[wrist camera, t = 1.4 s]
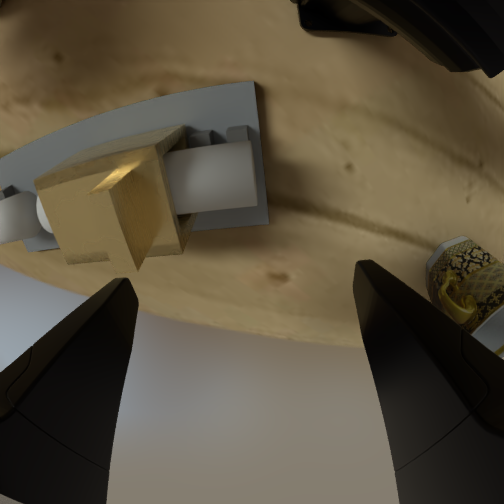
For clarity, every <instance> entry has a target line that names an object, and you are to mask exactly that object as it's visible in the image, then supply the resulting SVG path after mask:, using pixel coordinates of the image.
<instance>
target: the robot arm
mask: <svg viewBox="0 0 504 504" xmlns="http://www.w3.org/2000/svg"><path fill="white" fill-rule="evenodd" d="M290 1H291V2H292V3H294V4H297V8H298V15H299V22H300V26H301V28H302V29H304V30H306V31H334V32H350V33H361V34H371V35H379V36H386V37H394V36H396V35H397V33H398V34H400V35H401V36H402V37H403V38H405V39H406V40H407V41H408V42H410V43H411V44H412V45H413V46H415V47H416V48H417V49H418V50H419V51H420V52H422V53H423V54H424V55H425V56H426V57H427V58H428V59H430V60H431V61H433V62H435V63H437V64H439V65H441V66H445V67H446V68H447V69H448V70H449V71H450V72H470V71H474V70H479V69H482V70H483V71H484V73H485V74H486V75H487V76H488V77H489V78H493V77H495V76H496V75H497V74H499V73H500V72H502V71H503V70H504V0H290ZM305 21H310V22H311V23H312V26H310V27H309V26H306V25H305ZM388 27H389V28H391V30H392V33H390V32H389V31H388ZM353 293H354V298H355V303H356V308H357V313H358V318H359V324H360V329H361V334H362V339H363V343H364V347H365V350H366V353H367V357H368V360H369V364H370V368H371V371H372V375H373V378H374V382H375V386H376V390H377V393H378V398H379V402H380V406H381V410H382V414H383V418H384V422H385V427H386V431H387V436H388V440H389V445H390V450H391V455H392V460H393V466H394V470H395V477H396V484H397V490H398V496H399V503H400V504H504V360H503V359H502V358H501V357H499V356H498V355H497V354H495V353H494V352H493V351H491V350H490V349H488V348H487V347H486V346H485V345H483V344H482V343H481V342H480V341H478V340H477V339H476V338H475V337H473V336H472V335H471V334H470V333H468V332H467V331H466V330H465V329H461V326H460V325H458V324H457V323H456V322H455V321H453V320H452V319H451V318H450V317H448V316H447V315H446V314H445V313H443V312H442V311H441V310H439V309H438V308H437V307H436V306H434V305H433V304H432V303H430V302H429V301H428V300H426V299H425V298H424V297H422V296H421V295H420V294H418V293H417V292H416V291H414V290H413V289H412V288H410V287H409V286H408V285H406V284H405V283H404V282H402V281H401V280H399V279H398V278H397V277H395V276H394V275H392V274H391V273H390V272H388V271H387V270H385V269H384V268H383V267H381V266H380V265H378V264H377V263H376V262H374V261H373V260H370V259H369V260H359V261H357V262H356V265H355V273H354V280H353ZM138 306H139V302H138V298H137V295H136V293H135V291H134V289H133V286H132V284H131V282H130V280H129V279H128V278H115V279H113V280H112V281H111V282H109V283H108V284H107V285H105V286H104V287H103V288H102V289H100V290H99V291H98V292H96V293H95V294H94V295H93V296H91V297H90V298H89V299H88V300H86V301H85V302H84V303H82V304H81V305H80V306H79V307H78V308H76V309H75V310H74V311H73V312H71V313H70V314H69V315H68V316H66V317H65V318H64V319H63V320H62V321H60V322H59V323H58V324H57V325H56V326H54V327H53V328H52V329H51V330H50V331H48V332H47V333H46V334H45V335H44V336H43V337H41V338H40V339H39V340H38V341H37V342H36V343H34V344H33V346H31V347H30V348H29V349H27V350H26V351H25V352H24V353H23V354H22V355H21V356H19V357H18V358H17V359H16V360H15V361H14V362H12V363H11V364H10V365H9V366H8V367H6V368H5V369H4V370H3V371H2V372H0V504H106V501H107V490H108V480H109V470H110V462H111V454H112V447H113V440H114V434H115V428H116V423H117V417H118V412H119V406H120V401H121V396H122V391H123V386H124V381H125V377H126V373H127V368H128V364H129V359H130V355H131V351H132V345H133V339H134V331H135V325H136V318H137V312H138Z"/></svg>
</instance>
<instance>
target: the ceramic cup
mask: <svg viewBox="0 0 504 504" xmlns="http://www.w3.org/2000/svg"><path fill="white" fill-rule="evenodd" d="M426 287H427V290H428V294H429V296H430V299H431V302H432V304H433V305H434V306H436V307H437V308H438V309H439V310H441V311H442V312H443V313H445V314H446V315H447V316H448V317H450V318H451V319H452V320H453V321H455V322H456V323H457V324H458V325H460V326H461V329H465V330H466V331H467V332H468V333H470V334H471V335H472V336H473V337H475V338H476V339H477V340H478V341H480V342H481V343H482V344H483V345H485V346H486V347H487V348H488V349H490V350H491V351H493V352H494V353H495V354H497V355H498V356H499V357H501V358H502V357H504V264H503V263H501V262H500V261H498V260H497V259H496V258H494V257H493V256H492V255H490V254H489V253H488V252H486V251H485V250H484V249H482V248H481V247H479V246H478V245H477V244H475V243H474V242H473V241H472V240H470V239H468V238H467V237H465V236H460V237H457V238H455V239H452V240H449V241H447V242H444V243H442V244H440V246H439V247H438V248H437V250H436V251H435V252H434V254H433V255H432V256H431V258H430V259H429V260H428V262H427V263H426Z"/></svg>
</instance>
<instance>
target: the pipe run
mask: <svg viewBox="0 0 504 504" xmlns="http://www.w3.org/2000/svg"><path fill="white" fill-rule="evenodd" d="M181 124H185V127H186V132H187V138H188V143H189V148H190V149H185V150H179V151H173V152H168V153H165V154H164V155H163V160H164V164H165V169H166V173H167V177H168V182H169V186H170V190H171V194H172V198H173V202H174V206H175V210H176V214H177V215H178V214H187V213H195V212H198V215H197V217H196V220H195V223H194V225H193V228H192V230H191V232H192V231H202V230H212V229H222V228H232V227H243V226H254V225H265V224H269V216H268V205H267V195H266V186H265V176H264V166H263V157H262V148H261V139H260V130H259V121H258V113H257V104H256V96H255V87H254V81H248V82H239V83H231V84H224V85H217V86H211V87H205V88H199V89H194V90H189V91H184V92H179V93H174V94H170V95H166V96H161V97H157V98H153V99H149V100H145V101H142V102H138V103H134V104H131V105H128V106H124V107H121V108H118V109H114V110H111V111H108V112H105V113H102V114H99V115H96V116H94V117H91V118H88V119H85V120H83V121H80V122H77V123H75V124H72V125H70V126H67V127H65V128H62V129H60V130H58V131H55V132H53V133H51V134H48V135H46V136H44V137H42V138H40V139H37V140H35V141H33V142H31V143H29V144H27V145H25V146H23V147H21V148H19V149H17V150H15V151H13V152H11V153H10V154H8V155H6V156H4V157H2V158H1V159H0V186H1V189H2V190H1V191H0V244H4V243H9V242H14V241H18V240H23V242H24V244H25V246H26V249H27V251H28V252H33V251H40V250H47V249H54V248H60V247H59V245H58V243H57V240H56V238H55V236H54V234H53V231H52V229H51V227H50V224H49V222H48V219H47V217H46V215H45V212H44V209H43V207H42V204H41V202H40V199H39V196H38V193H37V191H36V188H35V185H34V182H33V180H34V179H36V178H37V177H39V176H40V175H42V174H43V173H45V172H46V171H48V170H50V169H51V168H53V167H54V166H56V165H57V164H59V163H61V162H62V161H64V160H66V159H67V158H69V157H71V156H72V155H74V154H76V153H78V152H79V151H81V150H83V149H87V148H90V147H93V146H96V145H99V144H103V143H106V142H110V141H113V140H117V139H120V138H124V137H128V136H132V135H136V134H140V133H144V132H148V131H153V130H157V129H162V128H166V127H171V126H176V125H181Z"/></svg>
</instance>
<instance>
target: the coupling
mask: <svg viewBox="0 0 504 504" xmlns="http://www.w3.org/2000/svg"><path fill="white" fill-rule="evenodd" d="M185 149H190V148H189V143H188V138H187V132H186V127H185V124H181V125H176V126H171V127H166V128H162V129H157V130H153V131H148V132H144V133H140V134H136V135H132V136H128V137H124V138H120V139H117V140H113V141H110V142H106V143H103V144H99V145H96V146H93V147H90V148H87V149H83V150H81V151H79V152H78V153H76V154H74V155H72V156H71V157H69V158H67V159H66V160H64V161H62V162H61V163H59V164H57V165H56V166H54V167H53V168H51V169H50V170H48V171H46V172H45V173H43V174H42V175H40V176H39V177H37V178H36V179H34V180H33V182H34V185H35V188H36V191H37V193H38V196H39V199H40V202H41V204H42V207H43V209H44V212H45V215H46V217H47V219H48V222H49V224H50V227H51V229H52V231H53V234H54V236H55V238H56V240H57V243H58V245H59V247H60V249H61V251H62V253H63V256H64V258H65V260H66V262H67V264H78V263H89V262H100V261H111V263H112V265H113V268H114V270H115V272H116V273H131V272H138V271H139V269H140V267H141V265H142V263H143V261H144V259H145V257H156V256H167V255H179V254H183V252H184V249H185V246H186V244H187V241H188V238H189V236H190V233H191V230H192V228H193V225H194V223H195V220H196V217H197V215H198V212H195V213H187V214H178V215H177V214H176V210H175V206H174V202H173V198H172V194H171V190H170V186H169V182H168V177H167V173H166V169H165V164H164V160H163V155H164V154H165V153H168V152H173V151H179V150H185Z"/></svg>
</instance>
